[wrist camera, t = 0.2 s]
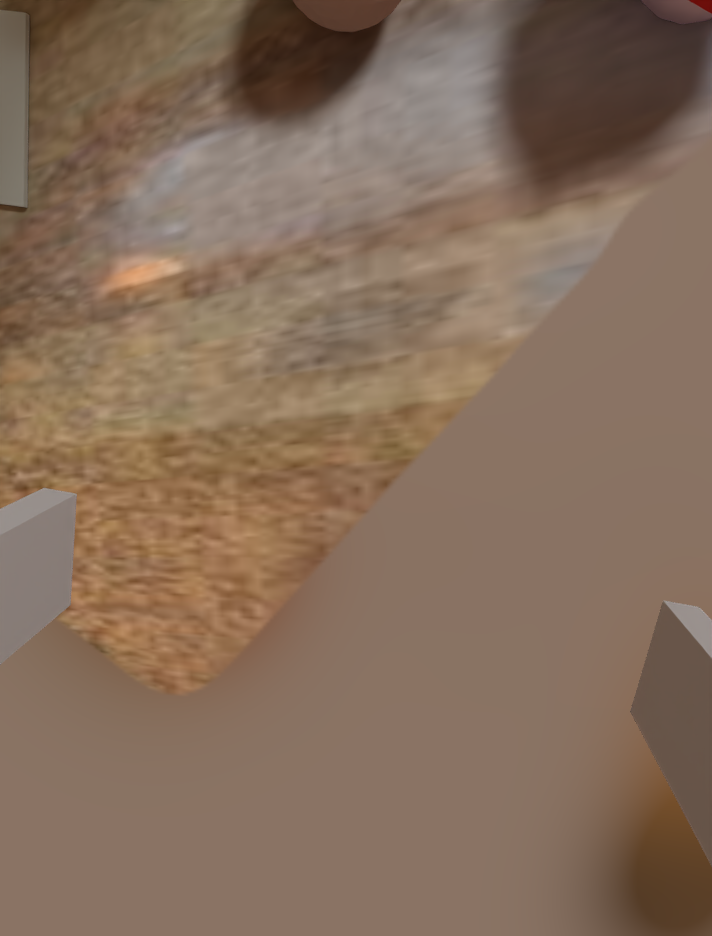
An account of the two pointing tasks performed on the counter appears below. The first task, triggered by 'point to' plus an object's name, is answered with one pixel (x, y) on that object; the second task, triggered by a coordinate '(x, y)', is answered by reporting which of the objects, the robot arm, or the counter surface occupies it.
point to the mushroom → (681, 10)
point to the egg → (346, 12)
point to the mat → (14, 107)
